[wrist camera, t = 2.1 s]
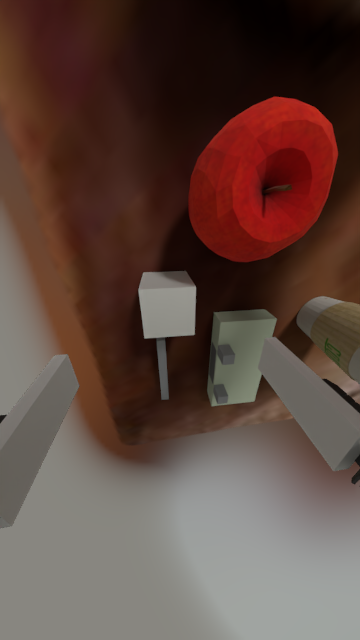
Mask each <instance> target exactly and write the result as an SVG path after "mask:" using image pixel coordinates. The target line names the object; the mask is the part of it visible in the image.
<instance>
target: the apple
mask: <svg viewBox="0 0 360 640" xmlns="http://www.w3.org/2000/svg"><path fill="white" fill-rule="evenodd" d="M337 158H338V149H337V145H336V140H335V135H334V131H333V126H332V124H331V123H330V122H329V121H328V120H327V119H326V118H325V117H324V116H323V114H322V113H321V112H320V111H319V110H318V109H317V108H316V107H313V106H311V105H309V104H306V103H304V102H301V101H299V100H296V99H291V98H283V97H272V98H270V99H267V100H265V101H262V102H260V103H258V104H255V105H253V106H251V107H250V108H248V109H247V110H245V111H243V112H242V113H240V114H239V115H237V116H235V117H234V118H232V119H231V120H230V121H229V122H228V123H227V124H226V125H225V126H224V127H223V128H222V129H221V130H220V131H219V132H218V133H217V134H216V136H215V137H214V138H213V139H212V140H211V141H210V143H209V144H208V145H207V147H206V148H205V149H204V150H203V152H202V153H201V155H200V156H199V157H198V159H197V162H196V165H195V167H194V170H193V173H192V175H191V181H190V190H189V217H190V221H191V224H192V227H193V229H194V231H195V233H196V235H197V236H198V238H199V239H200V240H201V241H202V242H203V243H204V244H205V245H206V246H207V247H208V248H209V249H210V250H212V251H213V252H215V253H216V254H218V255H220V256H222V257H224V258H227V259H229V260H231V261H236V262H250V261H255V260H260V259H265V258H268V257H270V256H272V255H273V254H275V253H277V252H278V251H280V250H282V249H284V248H285V247H287V246H289V245H291V244H292V243H294V242H295V241H297V240H298V239H300V238H301V237H303V236H304V234H305V233H306V232H307V231H308V230H309V229H310V228H311V227H312V225H313V224H314V223H315V222H316V221H317V220H318V217H319V215H320V213H321V211H322V209H323V207H324V205H325V202H326V200H327V198H328V195H329V191H330V187H331V183H332V178H333V174H334V170H335V166H336V162H337Z"/></svg>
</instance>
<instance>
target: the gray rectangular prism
mask: <svg viewBox="0 0 360 640" xmlns="http://www.w3.org/2000/svg"><path fill="white" fill-rule="evenodd" d="M138 291H139V299H140V307H141V315H142V323H143V331H144V339H145V338H159V337H173V336H187V335H195V306H196V286H195V284H194V283H193V281H192V280H191V278H190V277H189V275H188V274H187V272H186V271H170V272H144V273H143V275H142V279H141V282H140V286H139V289H138Z"/></svg>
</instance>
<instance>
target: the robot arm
mask: <svg viewBox="0 0 360 640" xmlns="http://www.w3.org/2000/svg"><path fill="white" fill-rule="evenodd" d="M258 369H259V370H260V372H261V373H262V375H263V376H264V377H265V379H266V380H267V381H268V383H269V384H270V385H271V387H272V388H273V390H274V391H275V392H276V394H277V395H278V396H279V398H280V399H281V400H282V402H283V403H284V404H285V406H286V407H287V409H288V410H289V411H290V413H291V414H292V415H293V417H294V418H295V419H296V420H297V422H298V423H299V425H300V426H301V428H302V429H303V430H304V431H305V433H306V434H307V436H308V437H309V438H310V440H311V441H312V443H313V444H314V445H315V447H316V448H317V449H318V451H319V452H320V453H321V455H322V456H323V457H324V459H325V460H326V462H327V463H328V464H329V465H330V467H331V468H332V470H333V471H337V470H343V469H348V468H350V466H351V465H352V464H353V463H354V462H355V461H356V463H357V464H358V465H359V466H360V405H359V404H358V403H356V402H355V400H354V399H352V398H351V397H350V396H349V395H347V393H345V392H344V391H343V390H342V389H341V388H340V387H338V386H337V385H336V384H334V383H332V382H330V381H329V380H327V379H321V378H320V377H319V376H318V375H317V374H315V373H314V372H313V371H312V370H311V369H310V368H309V367H308V366H307V365H305V364H304V363H303V362H302V361H301V360H300V359H299V358H298V357H297V356H296V355H294V354H293V353H292V352H291V351H290V350H289V349H288V348H287V347H286V346H284V345H283V344H282V343H281V342H280V341H279V340H278V339H277V338H276V337H272V338H265V340H264V344H263V349H262V353H261V357H260V361H259V365H258ZM78 388H79V383H78V381H77V378H76V376H75V373H74V370H73V367H72V365H71V362H70V360H69V357H68V354H65V355H55V356H54V357H53V358H52V359H51V361H50V362H49V363H48V364H47V366H46V367H45V368H44V369H43V371H42V372H41V373H40V374H39V376H38V377H37V378H36V380H35V381H34V382H33V383H32V384H31V386H30V387H29V388H28V389H27V391H26V392H25V393H24V395H23V396H22V397H21V398H20V400H19V401H18V402H17V403H16V405H15V406H14V407H13V408H12V410H11V411H10V412H9V413H8V415H1V416H0V528H4V527H10V526H12V525H13V523H14V521H15V519H16V517H17V514H18V513H19V511H20V508H21V506H22V504H23V502H24V500H25V498H26V496H27V494H28V492H29V490H30V488H31V486H32V484H33V481H34V479H35V477H36V475H37V473H38V471H39V469H40V467H41V465H42V463H43V461H44V459H45V457H46V454H47V452H48V450H49V448H50V446H51V444H52V442H53V440H54V438H55V436H56V433H57V432H58V429H59V427H60V425H61V423H62V421H63V419H64V417H65V415H66V413H67V411H68V409H69V407H70V404H71V402H72V400H73V398H74V396H75V394H76V392H77V390H78ZM359 479H360V469H359V471H358V472H357V473H356V474H355V475H354V476H353V477H352V483H353V484H355V483H356V482H357V481H358V480H359Z"/></svg>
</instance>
